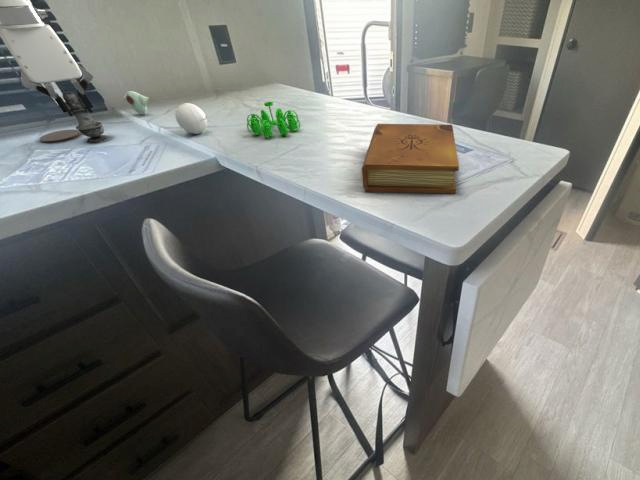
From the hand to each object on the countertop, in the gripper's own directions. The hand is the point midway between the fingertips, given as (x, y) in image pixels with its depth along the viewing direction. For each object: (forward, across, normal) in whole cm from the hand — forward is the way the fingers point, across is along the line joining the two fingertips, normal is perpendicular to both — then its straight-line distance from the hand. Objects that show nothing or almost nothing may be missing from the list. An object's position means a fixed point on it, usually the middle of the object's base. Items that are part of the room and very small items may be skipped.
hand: (80, 112), depth 80 cm
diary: (+7, -48, +73) cm, 88 cm away
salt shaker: (+7, 0, 0) cm, 7 cm away
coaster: (+7, +7, -10) cm, 14 cm away
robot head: (+7, -15, -16) cm, 23 cm away
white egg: (+7, -22, +13) cm, 27 cm away
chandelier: (+7, -38, +28) cm, 48 cm away
